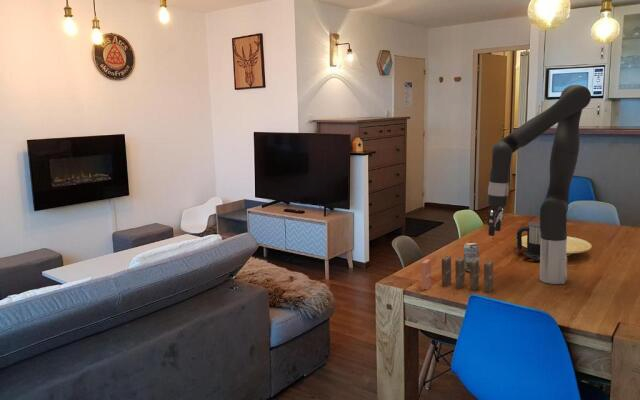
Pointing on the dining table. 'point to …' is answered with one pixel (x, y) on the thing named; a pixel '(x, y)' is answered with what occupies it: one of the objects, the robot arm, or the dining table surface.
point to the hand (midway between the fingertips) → (494, 233)
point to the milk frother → (531, 240)
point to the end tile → (426, 274)
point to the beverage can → (470, 254)
